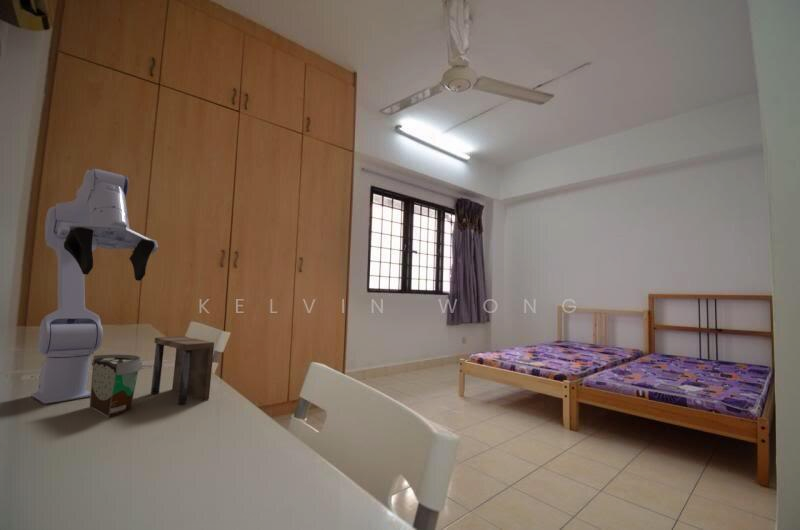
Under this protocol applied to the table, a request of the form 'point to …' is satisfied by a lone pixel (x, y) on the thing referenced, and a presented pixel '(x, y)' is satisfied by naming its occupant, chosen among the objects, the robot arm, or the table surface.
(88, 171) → the robot arm
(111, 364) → the food container
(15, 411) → the table surface
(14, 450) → the table surface
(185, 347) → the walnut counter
